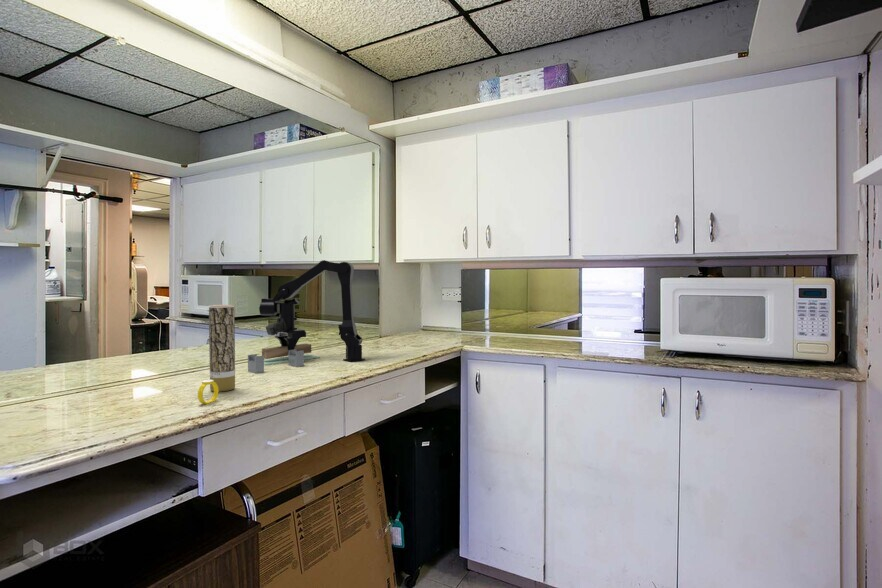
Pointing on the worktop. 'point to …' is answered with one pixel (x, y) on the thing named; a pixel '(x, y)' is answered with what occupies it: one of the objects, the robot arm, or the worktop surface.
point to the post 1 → (255, 363)
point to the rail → (284, 350)
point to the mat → (285, 359)
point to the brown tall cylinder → (222, 346)
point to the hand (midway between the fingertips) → (287, 353)
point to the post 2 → (296, 357)
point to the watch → (200, 391)
